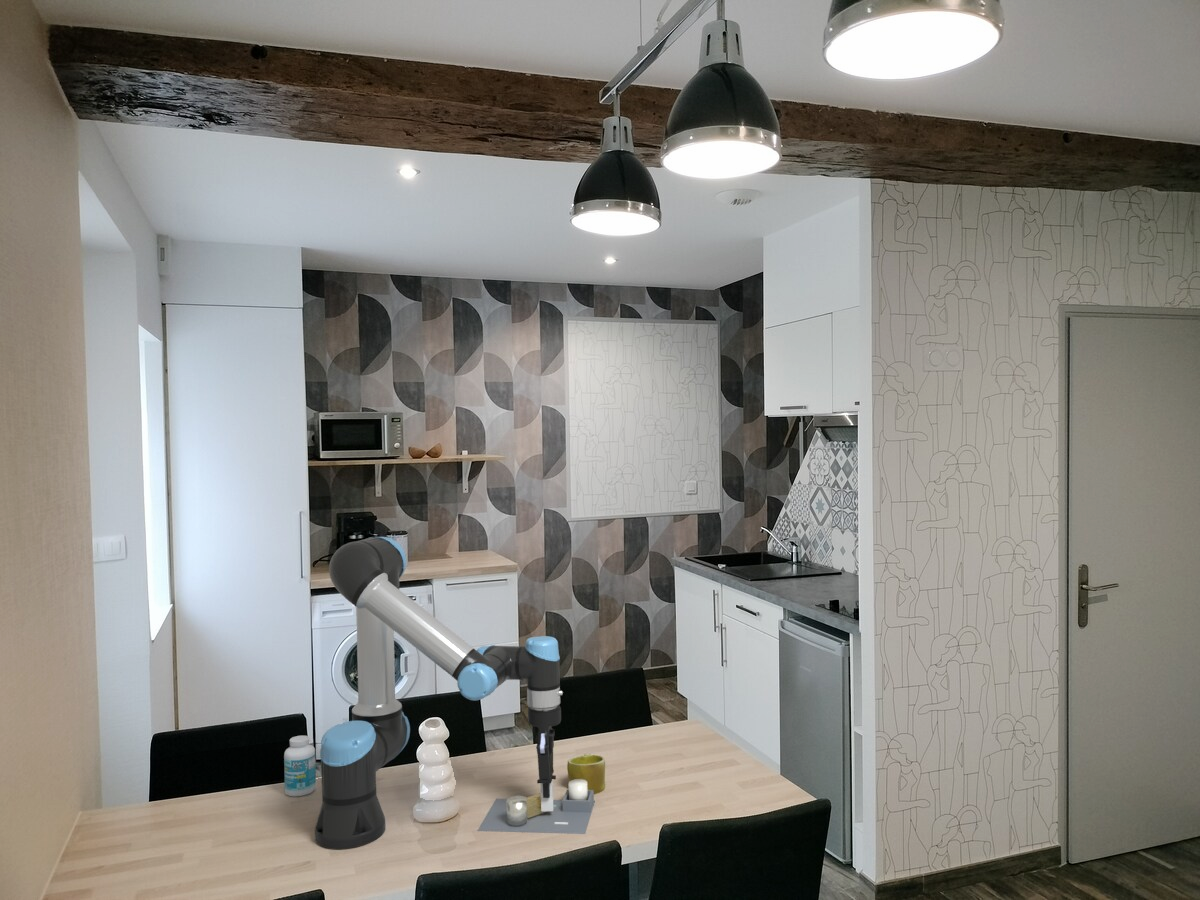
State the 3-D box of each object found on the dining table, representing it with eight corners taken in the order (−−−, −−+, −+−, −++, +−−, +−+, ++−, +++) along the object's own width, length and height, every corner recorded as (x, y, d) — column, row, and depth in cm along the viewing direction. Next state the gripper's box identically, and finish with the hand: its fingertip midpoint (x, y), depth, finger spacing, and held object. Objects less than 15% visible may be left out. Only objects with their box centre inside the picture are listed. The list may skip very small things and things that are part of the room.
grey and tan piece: (514, 827, 184) (513, 806, 184) (503, 820, 187) (502, 799, 187) (557, 812, 191) (557, 791, 191) (546, 805, 195) (545, 785, 195)
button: (567, 805, 193) (567, 786, 193) (570, 797, 197) (570, 778, 197) (586, 806, 192) (585, 786, 192) (589, 798, 197) (588, 779, 197)
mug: (607, 795, 199) (595, 752, 201) (568, 806, 201) (557, 763, 203) (620, 785, 210) (608, 745, 213) (582, 795, 212) (572, 755, 215)
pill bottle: (278, 797, 208) (277, 743, 208) (294, 785, 215) (293, 732, 215) (306, 798, 206) (305, 744, 206) (321, 786, 214) (320, 733, 214)
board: (477, 836, 183) (476, 819, 183) (496, 803, 200) (495, 788, 200) (585, 839, 181) (584, 822, 181) (595, 805, 197) (594, 790, 197)
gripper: (557, 713, 184) (561, 821, 183) (563, 697, 196) (566, 798, 196) (524, 714, 184) (527, 822, 184) (531, 698, 197) (534, 799, 196)
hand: (547, 810), depth 190 cm, fingers closed
